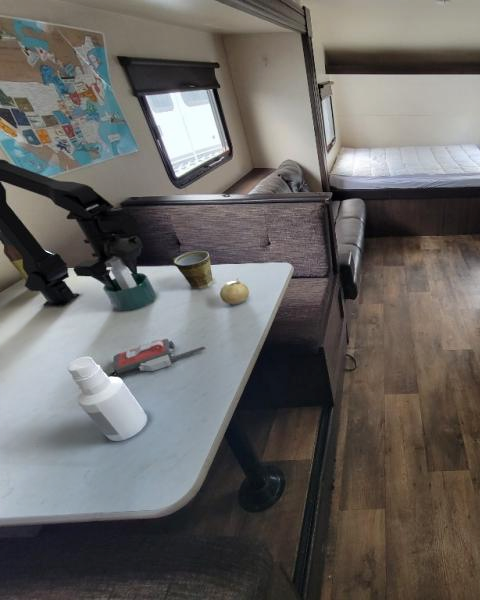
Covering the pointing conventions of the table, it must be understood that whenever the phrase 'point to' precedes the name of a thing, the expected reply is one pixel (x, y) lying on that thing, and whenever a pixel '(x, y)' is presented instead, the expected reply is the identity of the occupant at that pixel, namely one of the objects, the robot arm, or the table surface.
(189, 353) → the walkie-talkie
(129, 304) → the canister
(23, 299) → the table surface
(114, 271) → the eye dropper bottle
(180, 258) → the ceramic cup
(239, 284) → the onion
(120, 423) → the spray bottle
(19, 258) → the sauce bottle
